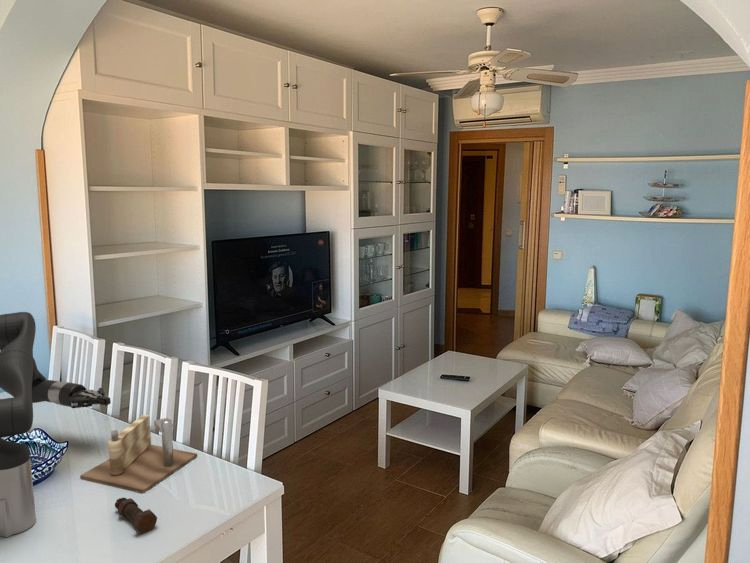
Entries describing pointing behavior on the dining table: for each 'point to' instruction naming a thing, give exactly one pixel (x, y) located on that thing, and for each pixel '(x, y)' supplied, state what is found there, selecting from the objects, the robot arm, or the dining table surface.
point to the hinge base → (139, 469)
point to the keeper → (166, 440)
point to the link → (129, 444)
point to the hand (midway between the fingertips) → (108, 401)
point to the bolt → (136, 515)
